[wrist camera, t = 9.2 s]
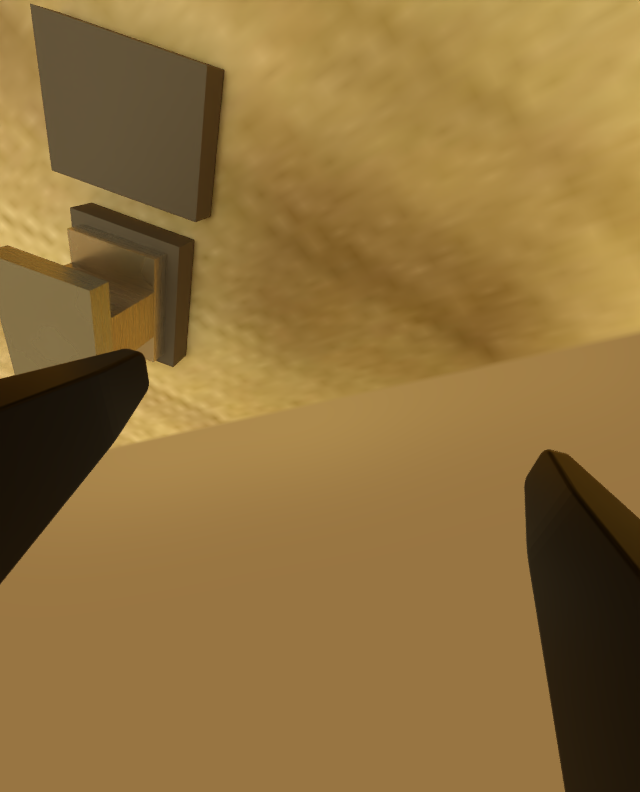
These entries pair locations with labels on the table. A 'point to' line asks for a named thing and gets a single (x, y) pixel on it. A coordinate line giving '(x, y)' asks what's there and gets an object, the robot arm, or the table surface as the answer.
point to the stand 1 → (128, 114)
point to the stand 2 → (176, 271)
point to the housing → (83, 301)
